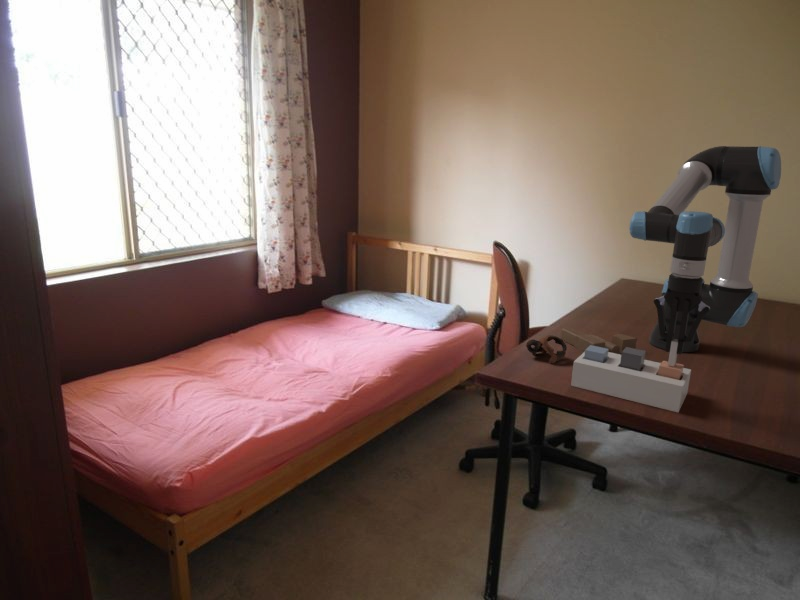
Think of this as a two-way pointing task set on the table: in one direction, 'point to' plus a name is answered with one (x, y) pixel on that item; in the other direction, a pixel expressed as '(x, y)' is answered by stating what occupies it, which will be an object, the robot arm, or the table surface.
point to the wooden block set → (597, 341)
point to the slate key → (596, 354)
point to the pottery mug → (547, 348)
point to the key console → (631, 382)
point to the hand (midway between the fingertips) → (671, 364)
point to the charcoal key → (632, 359)
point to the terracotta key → (670, 370)
